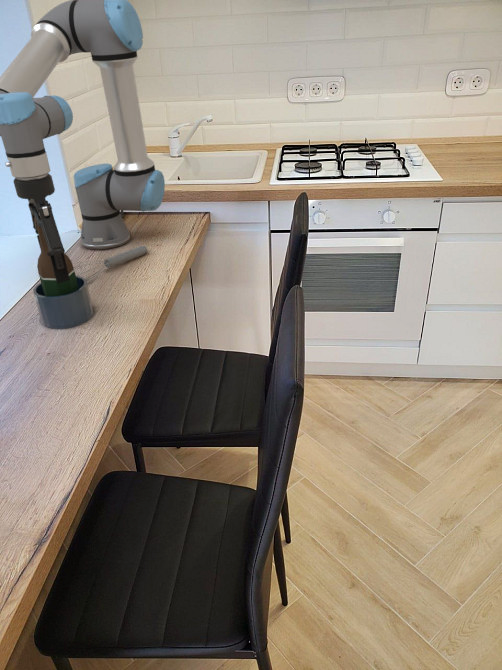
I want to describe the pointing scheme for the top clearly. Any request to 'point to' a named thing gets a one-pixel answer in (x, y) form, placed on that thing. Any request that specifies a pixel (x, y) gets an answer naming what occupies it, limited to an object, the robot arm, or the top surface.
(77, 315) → the metal cup
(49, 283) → the beer bottle
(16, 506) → the top surface
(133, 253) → the kitchen whisk
